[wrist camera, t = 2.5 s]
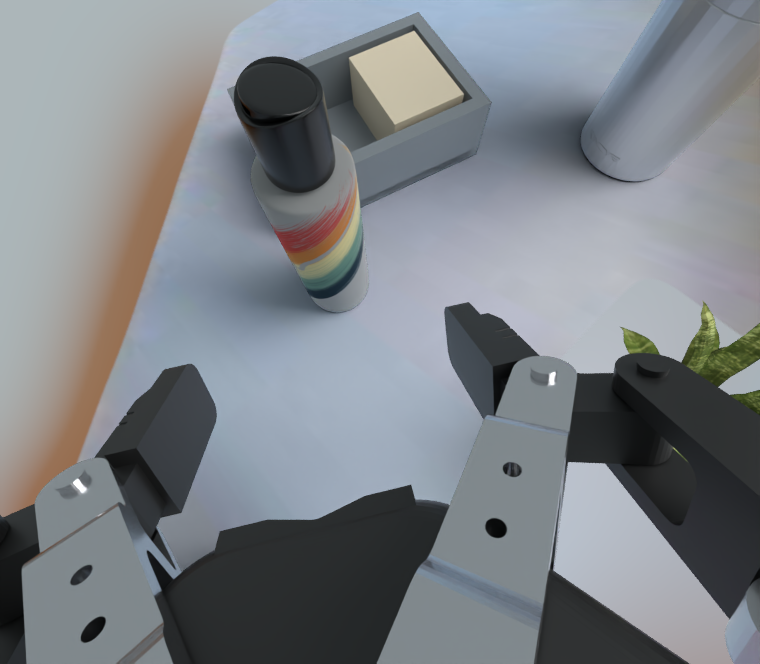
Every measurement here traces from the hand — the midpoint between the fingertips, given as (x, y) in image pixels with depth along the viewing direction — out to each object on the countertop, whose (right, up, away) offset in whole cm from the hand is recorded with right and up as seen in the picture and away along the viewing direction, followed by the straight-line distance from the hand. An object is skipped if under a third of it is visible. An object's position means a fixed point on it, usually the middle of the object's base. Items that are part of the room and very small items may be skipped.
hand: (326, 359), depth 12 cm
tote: (0, +20, +27) cm, 33 cm away
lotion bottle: (-2, +5, +22) cm, 23 cm away
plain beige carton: (+4, +23, +26) cm, 35 cm away
